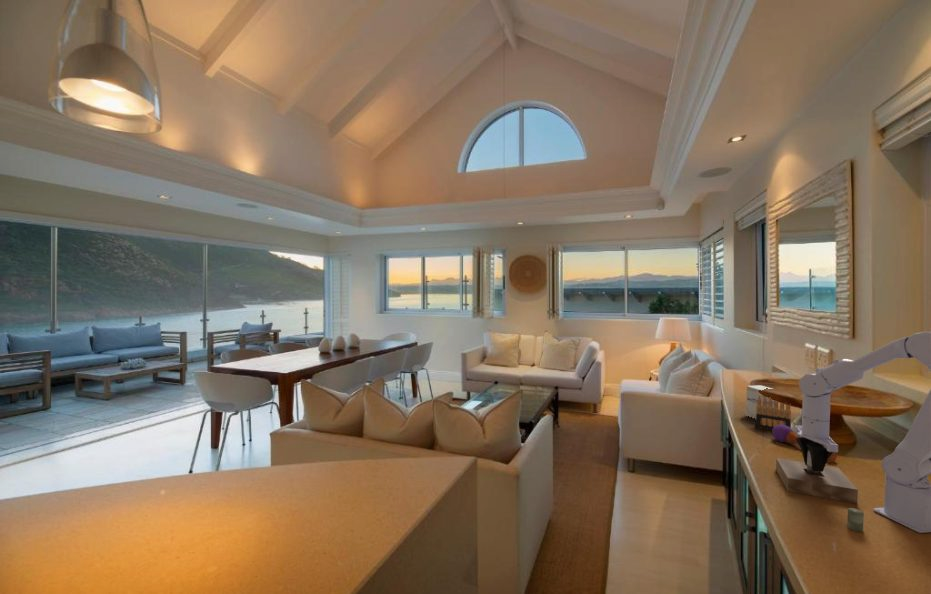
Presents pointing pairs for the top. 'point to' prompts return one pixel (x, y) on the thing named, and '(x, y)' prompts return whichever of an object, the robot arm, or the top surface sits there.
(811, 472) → the long pin
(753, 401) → the supplement box
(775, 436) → the purple and brown maraca
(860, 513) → the green rectangular block
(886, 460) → the robot arm
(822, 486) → the hole board
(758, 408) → the ammunition clip
